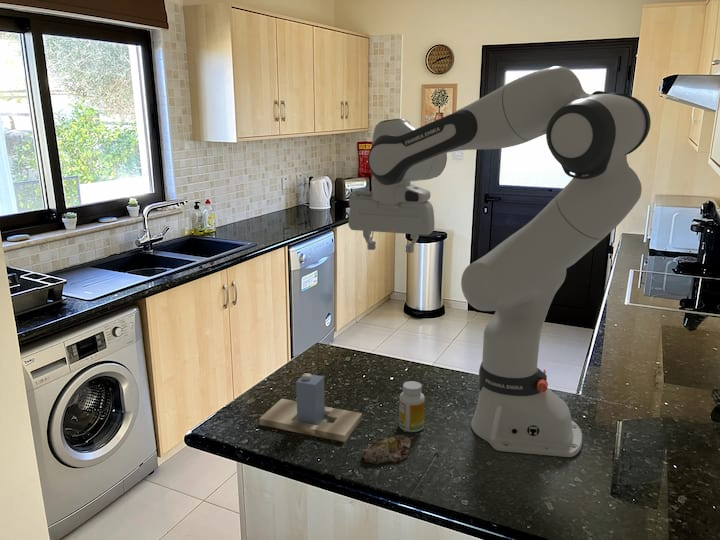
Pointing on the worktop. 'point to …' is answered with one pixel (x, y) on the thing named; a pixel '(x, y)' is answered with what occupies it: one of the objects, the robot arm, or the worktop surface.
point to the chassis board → (337, 429)
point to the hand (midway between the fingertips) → (390, 250)
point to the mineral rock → (387, 450)
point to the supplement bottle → (411, 407)
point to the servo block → (310, 399)
